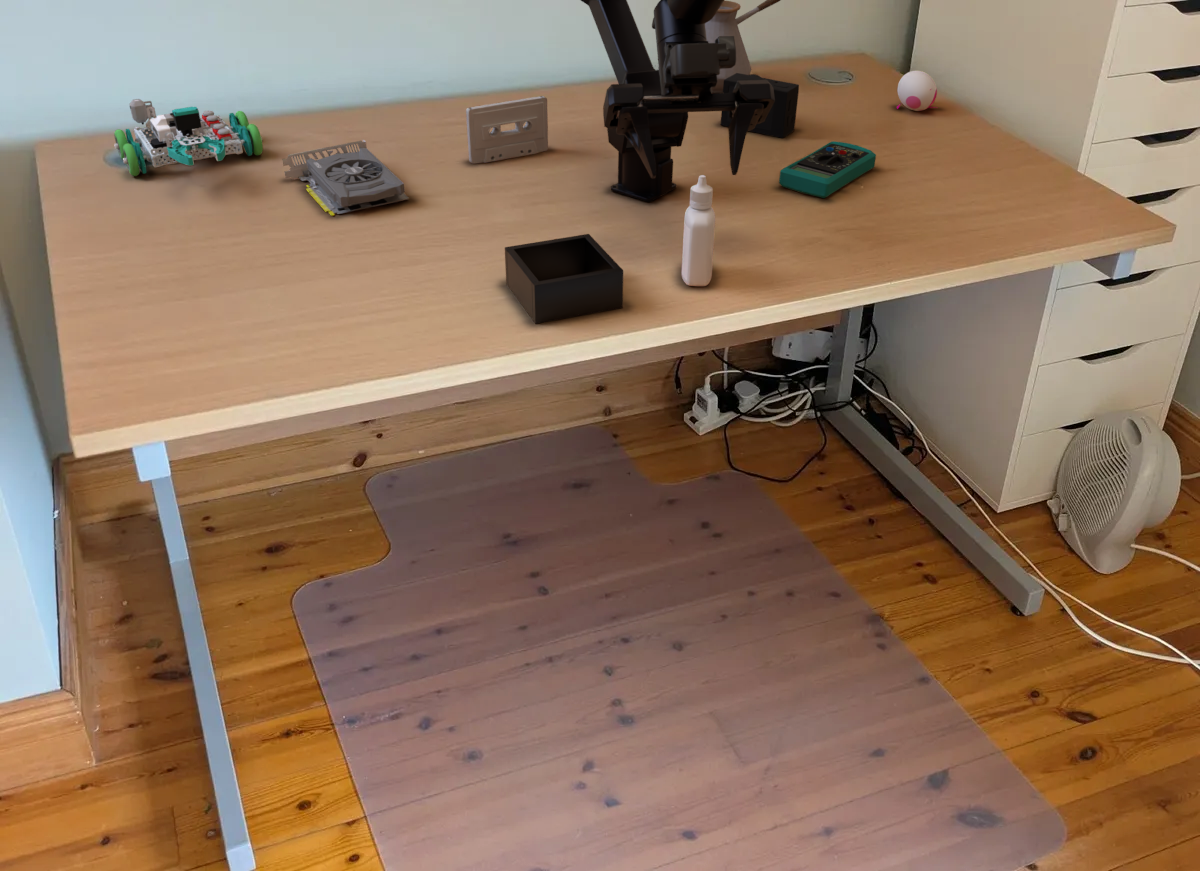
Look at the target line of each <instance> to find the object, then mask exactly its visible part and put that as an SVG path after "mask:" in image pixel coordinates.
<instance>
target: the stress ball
mask: <svg viewBox="0 0 1200 871" xmlns="http://www.w3.org/2000/svg"><path fill="white" fill-rule="evenodd" d="M898 81H899V82H898V84H897V96H898V99H899V101H900V104H898V105H896V109H897V110H899V108H900V107H901V105H903V106H904V107H905V108H907V109H909V110H910V111H915V112H921V111H924V110H927V109H937V107H936V106H932V105H934V102H935V100H936V99H937V94H938V88H937V84H936V82H935V80H934V79H933V77H932V76H931V75H930V74H928V73H927V72H924V71H922V70H910V71H908V72H906V73H905V74H904V75H902V77H901V78H900V80H898Z"/></svg>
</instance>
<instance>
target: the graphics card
mask: <svg viewBox="0 0 1200 871" xmlns="http://www.w3.org/2000/svg"><path fill="white" fill-rule="evenodd" d="M367 147H368V146H367V141H366V140H365V139H362V140H357V141H352V142H346V143H341V144H335V145H331V146H326V147H320V148H317V149H311V150H305V151H301V152H296V153H290V154H288V155H287V157H285V158H282V159H281V161H282V165H283V167H285V166H289V167H290V168H289V170H284V172H283V173H284V176H285V179H290V178H291V179H292V180H300V181H301V182H306V181H307V182H308V183H309V184H306V185H305V186H306V187H307V188H306V189H305V190H306V191H307V192H308V194H309V195H310V196H311V197H312V198H313V200H314V201H315V202H316V203H317V204H318V206H319V207H320V208H322V210H323V211H324V212H325V213H328V214H329V215H330V217H336V214H337V215H341V214H345V213H351V212H354V211H355V212H356V211H360V210H364V209H365V210H366V209H370V208H374V207H379V206H383V205H387V204H393V203H398V202H401V201H406V200H407V201H408V200H410V198H409V196H408V195H407V194H406V193H405V192H406V191H405V190H406V189H405V183H404V182H403V181H402V180H401V179H400V178H399V177H398V176H397V175H396V174H395V173H394V172H392V171H391V170H390V168H388V167H387V166H386V165H385V164H384V163H383V162H382V161H381V160H380V159H379V158H378V157H377V156H376V155H374V153H372V151H370V150H369V148H367ZM339 149H341V150H342V152H343V153H341V152H340V151H339ZM334 150H336V152H335V154H333V153H334ZM324 152H326V154H327V155H328V156H325V154H324ZM316 153H319V155H320V156H321V158H318V156H317V154H316ZM309 155H312V157H313V158H312V157H310V156H309ZM298 159H299V160H298Z"/></svg>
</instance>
